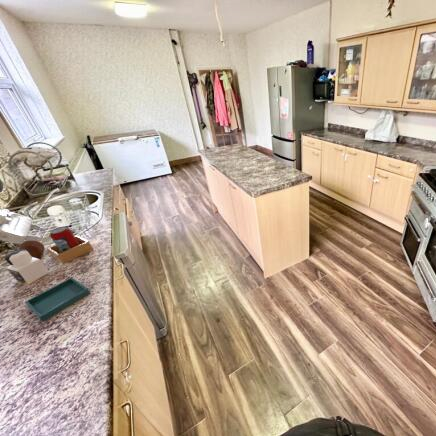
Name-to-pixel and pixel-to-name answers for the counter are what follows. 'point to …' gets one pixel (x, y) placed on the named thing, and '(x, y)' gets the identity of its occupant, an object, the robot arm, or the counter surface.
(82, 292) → the tray
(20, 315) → the counter surface
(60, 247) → the beverage can
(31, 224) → the robot arm
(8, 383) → the counter surface
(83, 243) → the basket
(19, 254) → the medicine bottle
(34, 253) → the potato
